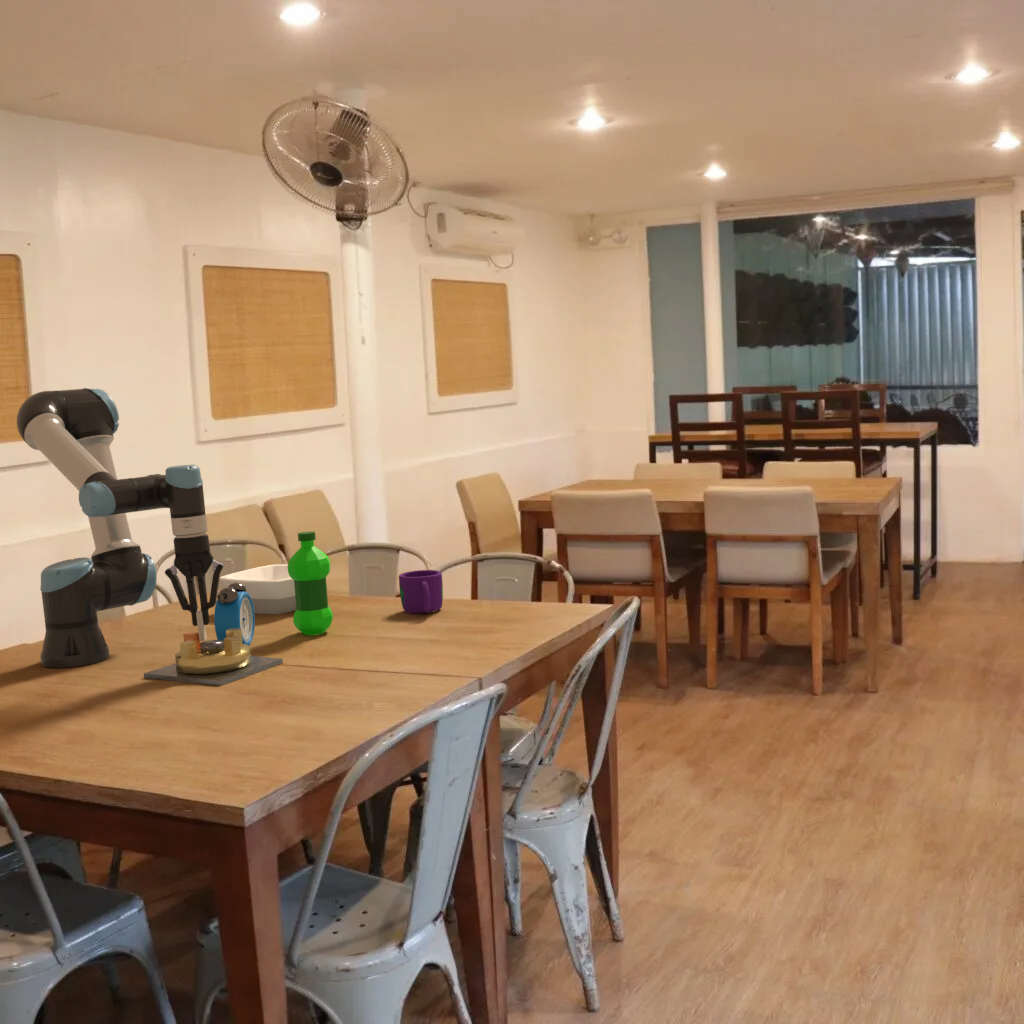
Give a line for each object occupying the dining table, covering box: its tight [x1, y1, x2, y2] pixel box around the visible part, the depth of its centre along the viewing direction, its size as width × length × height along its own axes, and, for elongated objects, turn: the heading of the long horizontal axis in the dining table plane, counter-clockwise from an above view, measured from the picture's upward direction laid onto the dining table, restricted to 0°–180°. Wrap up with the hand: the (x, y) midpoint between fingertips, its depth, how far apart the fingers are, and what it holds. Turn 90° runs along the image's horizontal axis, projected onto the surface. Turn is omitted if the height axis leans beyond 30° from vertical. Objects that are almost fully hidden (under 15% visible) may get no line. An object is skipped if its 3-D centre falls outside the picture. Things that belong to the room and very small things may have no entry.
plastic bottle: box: [287, 531, 334, 636], centre depth 300 cm, size 10×10×25 cm
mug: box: [398, 569, 444, 615], centre depth 319 cm, size 17×11×10 cm, turn 12°
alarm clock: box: [213, 582, 256, 647], centre depth 290 cm, size 13×6×15 cm, turn 176°
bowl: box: [219, 563, 331, 615], centre depth 336 cm, size 24×25×10 cm
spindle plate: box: [143, 655, 284, 687], centre depth 269 cm, size 22×20×1 cm
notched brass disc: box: [174, 628, 251, 674], centre depth 268 cm, size 16×16×6 cm
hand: (203, 639), depth 273 cm, fingers closed
